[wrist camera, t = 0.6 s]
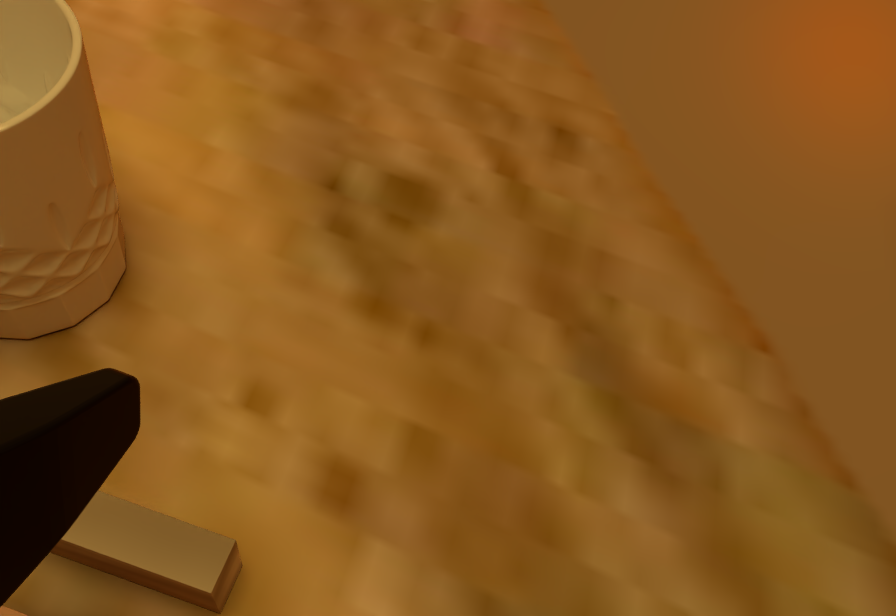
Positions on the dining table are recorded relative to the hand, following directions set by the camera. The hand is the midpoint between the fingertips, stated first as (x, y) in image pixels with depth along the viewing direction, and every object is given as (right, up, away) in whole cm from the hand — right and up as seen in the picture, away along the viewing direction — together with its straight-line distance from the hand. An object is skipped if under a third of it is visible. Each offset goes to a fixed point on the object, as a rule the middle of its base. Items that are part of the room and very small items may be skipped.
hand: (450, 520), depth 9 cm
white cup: (-16, +4, +18) cm, 25 cm away
